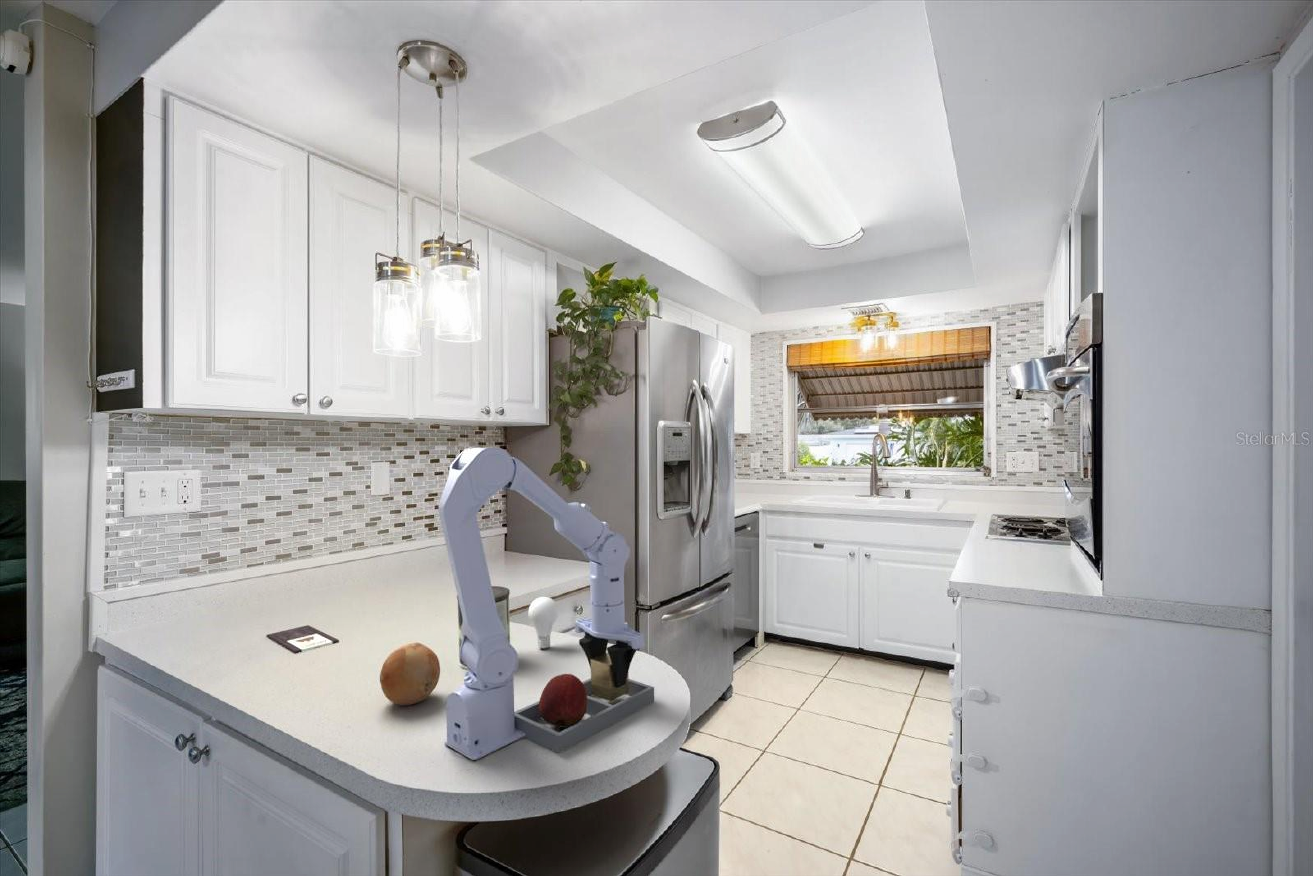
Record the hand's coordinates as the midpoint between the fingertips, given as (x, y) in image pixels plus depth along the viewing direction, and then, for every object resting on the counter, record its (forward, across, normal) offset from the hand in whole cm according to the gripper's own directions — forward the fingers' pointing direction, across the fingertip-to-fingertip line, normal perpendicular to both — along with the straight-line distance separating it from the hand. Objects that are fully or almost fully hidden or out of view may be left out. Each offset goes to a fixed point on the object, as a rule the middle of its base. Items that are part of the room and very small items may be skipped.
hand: (609, 681), depth 103 cm
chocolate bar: (+4, +80, +20) cm, 83 cm away
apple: (+4, 0, +10) cm, 11 cm away
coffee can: (+4, +34, +2) cm, 34 cm away
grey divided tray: (+4, 0, +6) cm, 7 cm away
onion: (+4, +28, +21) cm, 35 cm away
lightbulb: (+4, +30, -10) cm, 32 cm away
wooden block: (+2, 0, 0) cm, 2 cm away
